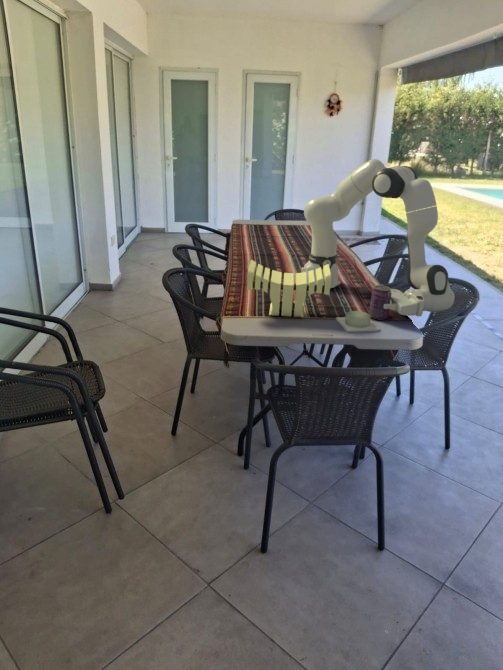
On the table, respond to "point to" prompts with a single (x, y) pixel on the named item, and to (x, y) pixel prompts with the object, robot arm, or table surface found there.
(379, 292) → the beverage can
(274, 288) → the slatted curved stool
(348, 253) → the table surface
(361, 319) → the pedestal stand
